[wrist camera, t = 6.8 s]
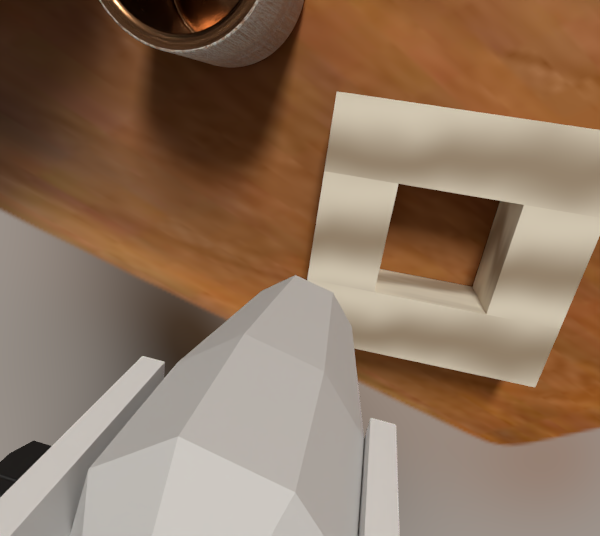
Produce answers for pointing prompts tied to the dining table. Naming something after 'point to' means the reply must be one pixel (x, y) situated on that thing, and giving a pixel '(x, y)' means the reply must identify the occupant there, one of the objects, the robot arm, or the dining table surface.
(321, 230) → the socket block
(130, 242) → the dining table surface
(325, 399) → the low poly bottle
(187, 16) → the planter
